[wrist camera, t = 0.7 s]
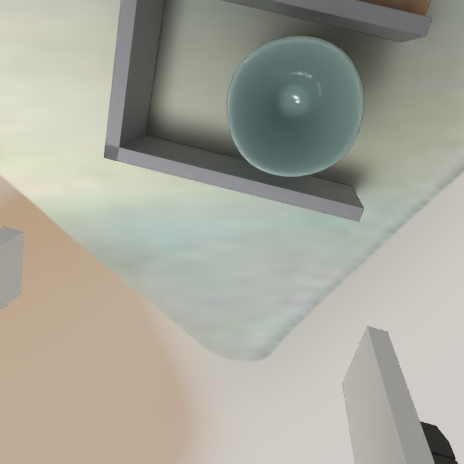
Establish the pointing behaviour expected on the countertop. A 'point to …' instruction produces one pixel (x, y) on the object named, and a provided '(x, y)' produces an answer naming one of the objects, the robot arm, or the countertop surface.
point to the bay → (215, 164)
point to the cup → (295, 106)
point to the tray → (403, 5)
